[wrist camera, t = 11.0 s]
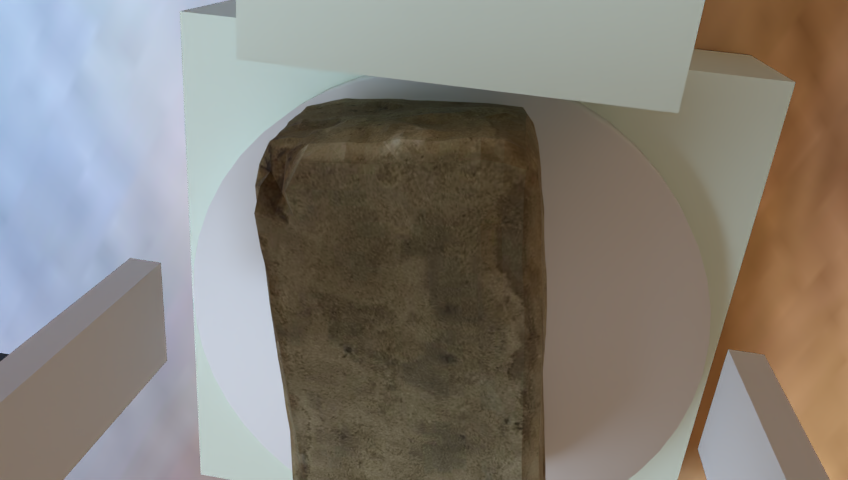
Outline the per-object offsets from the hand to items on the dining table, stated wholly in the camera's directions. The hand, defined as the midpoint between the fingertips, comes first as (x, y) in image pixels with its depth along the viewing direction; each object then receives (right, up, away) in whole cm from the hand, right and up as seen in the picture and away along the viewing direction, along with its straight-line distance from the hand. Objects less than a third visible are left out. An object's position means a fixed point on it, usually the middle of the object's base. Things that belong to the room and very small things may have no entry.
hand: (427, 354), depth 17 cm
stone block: (0, +1, +3) cm, 3 cm away
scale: (+1, +3, +7) cm, 8 cm away
